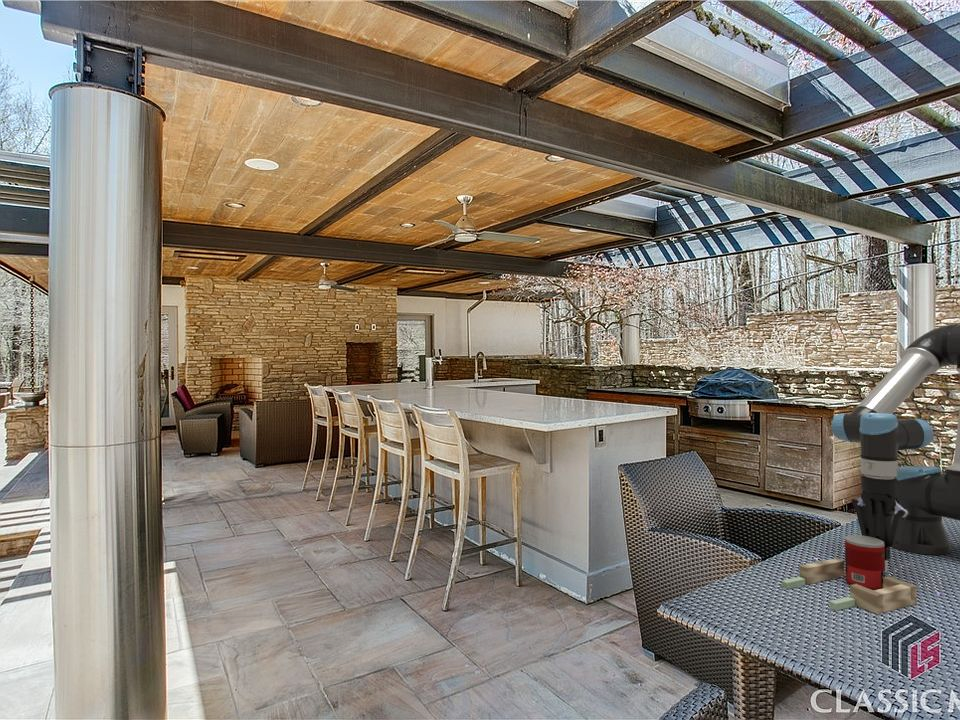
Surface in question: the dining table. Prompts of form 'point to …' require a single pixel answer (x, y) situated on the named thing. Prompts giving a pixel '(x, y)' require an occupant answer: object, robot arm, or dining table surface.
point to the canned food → (865, 561)
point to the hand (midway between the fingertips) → (880, 571)
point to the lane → (874, 601)
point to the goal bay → (833, 604)
